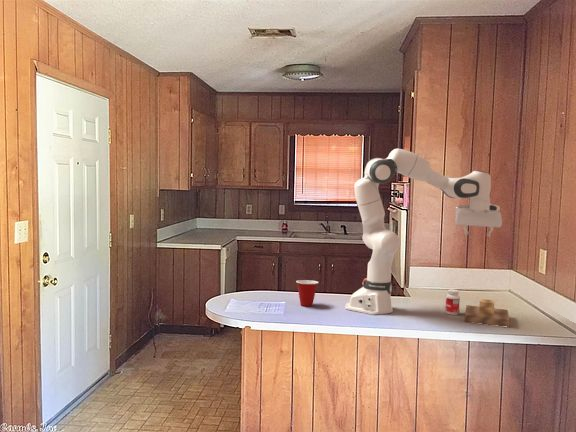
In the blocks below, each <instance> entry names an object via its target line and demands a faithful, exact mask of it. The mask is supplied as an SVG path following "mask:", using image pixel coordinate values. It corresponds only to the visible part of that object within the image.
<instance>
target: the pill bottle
mask: <svg viewBox="0 0 576 432" xmlns="http://www.w3.org/2000/svg"><path fill="white" fill-rule="evenodd" d="M459 294H460V293H459V290H458V289H453V288H452V289H451V288H449V289H448V290H447V294H446V296H445V307H444V308H445V310H444V311H445V312H444V313H445V314H447V315H449V314H450V316H458V315H460V303H461V301H460V299H461V297H460V295H459Z"/></svg>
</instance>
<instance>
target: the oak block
mask: <svg viewBox="0 0 576 432" xmlns="http://www.w3.org/2000/svg"><path fill="white" fill-rule="evenodd" d="M478 306H479V313H486V314H494V308H495V300H493V299H484V298H480V300H479V305H478Z"/></svg>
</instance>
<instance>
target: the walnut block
mask: <svg viewBox="0 0 576 432" xmlns="http://www.w3.org/2000/svg"><path fill="white" fill-rule="evenodd" d="M468 322H474V323H473V324H475V323H482V324H481V325H483V324H488V325H487V326H491V325H498V326H507V327H509V328H510V315H509V311H508V309H505V308H504V309H503V308H496V307H494V314H486V313H479V305H478V306H477V305H470V304H469V305H468V304H466V307H465V312H464V323H468ZM498 326H497V327H498Z"/></svg>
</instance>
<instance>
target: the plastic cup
mask: <svg viewBox="0 0 576 432" xmlns="http://www.w3.org/2000/svg"><path fill="white" fill-rule="evenodd" d="M295 282H296V284H297V290H298V297H299V303H300V304H299V305H300V306H301V307H307V308H308V307H313V304H314V299H315V296H316V291H317V287H318V284H319V281H316V280H312V279H311V280H308V279H306V280H305V279H302V280H301V279H300V280H298V279H297V280H296V281H295Z"/></svg>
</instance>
